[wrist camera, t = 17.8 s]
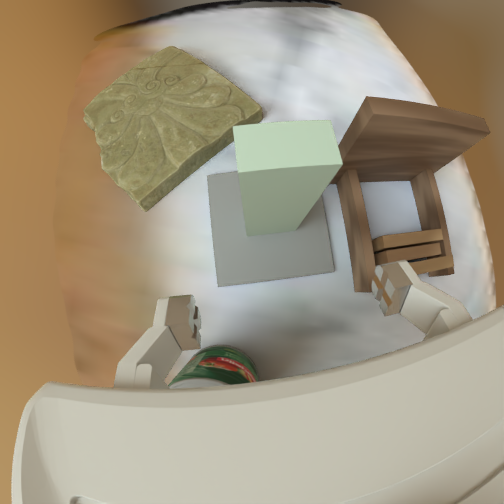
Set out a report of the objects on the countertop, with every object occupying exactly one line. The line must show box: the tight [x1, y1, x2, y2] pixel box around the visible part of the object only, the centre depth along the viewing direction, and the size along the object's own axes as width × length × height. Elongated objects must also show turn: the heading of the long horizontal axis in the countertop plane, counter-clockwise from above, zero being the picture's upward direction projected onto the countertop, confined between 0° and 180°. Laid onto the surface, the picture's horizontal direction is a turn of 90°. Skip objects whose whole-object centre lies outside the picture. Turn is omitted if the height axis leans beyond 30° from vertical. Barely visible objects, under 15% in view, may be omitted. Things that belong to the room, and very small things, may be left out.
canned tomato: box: [168, 345, 259, 389], centre depth 21 cm, size 8×8×11 cm
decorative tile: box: [83, 46, 262, 212], centre depth 29 cm, size 19×20×4 cm
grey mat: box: [207, 171, 334, 287], centre depth 28 cm, size 12×12×1 cm
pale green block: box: [233, 120, 343, 237], centre depth 20 cm, size 3×5×16 cm, turn 97°
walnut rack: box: [329, 96, 490, 292], centre depth 22 cm, size 14×14×14 cm
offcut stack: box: [372, 229, 454, 275], centre depth 25 cm, size 4×8×6 cm, turn 97°
